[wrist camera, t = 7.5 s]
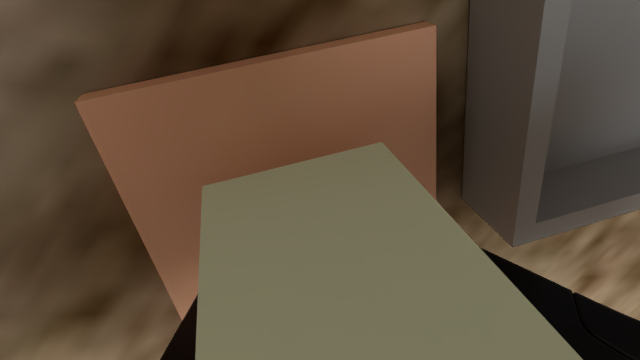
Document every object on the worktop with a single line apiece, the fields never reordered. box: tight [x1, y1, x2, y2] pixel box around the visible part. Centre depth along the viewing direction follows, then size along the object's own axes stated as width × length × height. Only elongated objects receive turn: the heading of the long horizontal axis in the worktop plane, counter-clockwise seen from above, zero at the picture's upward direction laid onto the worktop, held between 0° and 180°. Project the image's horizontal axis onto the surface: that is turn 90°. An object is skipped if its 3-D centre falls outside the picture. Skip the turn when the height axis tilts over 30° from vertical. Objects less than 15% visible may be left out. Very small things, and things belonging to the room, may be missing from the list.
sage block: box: [195, 142, 583, 360], centre depth 7 cm, size 4×4×6 cm
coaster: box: [74, 22, 436, 320], centre depth 11 cm, size 8×8×1 cm
